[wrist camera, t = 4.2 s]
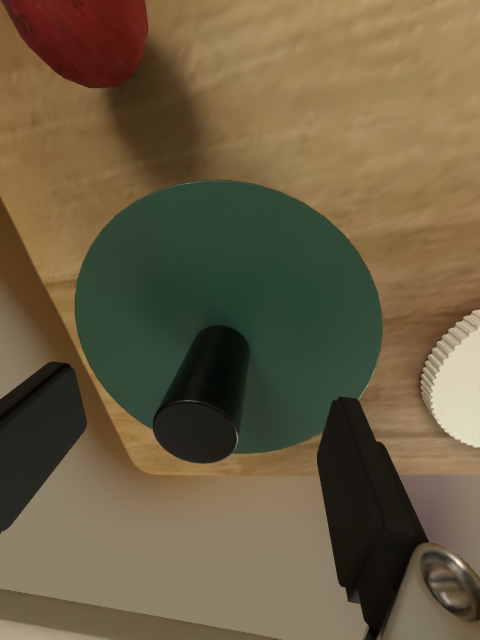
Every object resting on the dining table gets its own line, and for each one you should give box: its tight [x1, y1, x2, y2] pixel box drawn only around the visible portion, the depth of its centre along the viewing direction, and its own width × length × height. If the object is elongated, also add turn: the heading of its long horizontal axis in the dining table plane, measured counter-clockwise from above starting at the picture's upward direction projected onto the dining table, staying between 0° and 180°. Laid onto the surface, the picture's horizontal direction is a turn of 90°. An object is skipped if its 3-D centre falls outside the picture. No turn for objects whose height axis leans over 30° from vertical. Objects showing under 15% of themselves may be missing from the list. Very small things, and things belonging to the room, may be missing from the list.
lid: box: [75, 180, 383, 463], centre depth 11 cm, size 15×15×6 cm
